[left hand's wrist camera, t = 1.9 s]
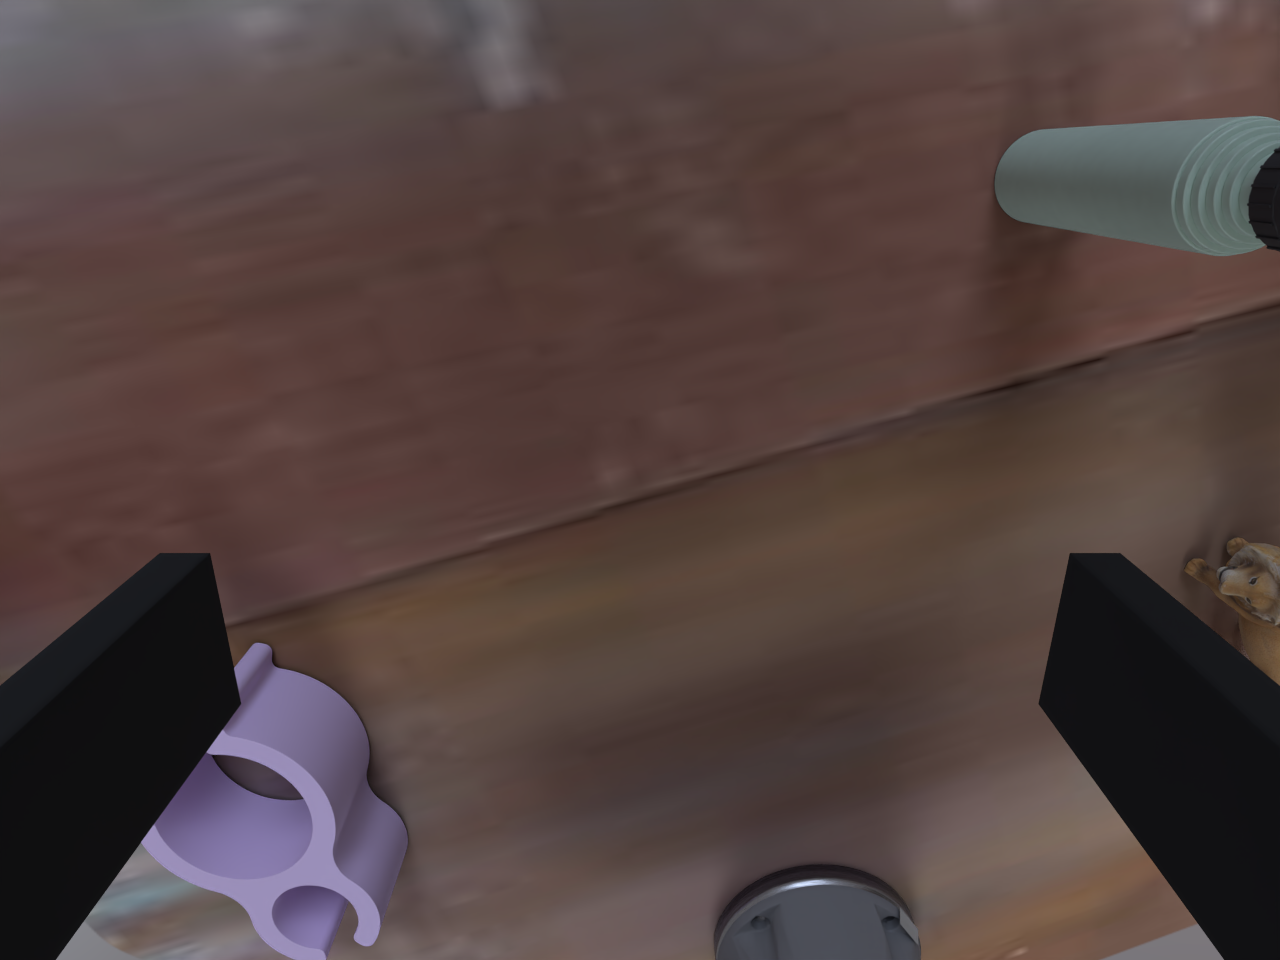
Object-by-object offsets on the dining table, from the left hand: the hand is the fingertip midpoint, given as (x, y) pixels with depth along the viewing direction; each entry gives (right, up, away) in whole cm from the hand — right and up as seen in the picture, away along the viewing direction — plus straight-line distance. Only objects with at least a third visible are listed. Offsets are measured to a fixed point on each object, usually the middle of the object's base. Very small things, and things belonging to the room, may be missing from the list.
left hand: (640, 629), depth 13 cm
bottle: (+21, +18, +31) cm, 42 cm away
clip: (-24, -18, +45) cm, 54 cm away
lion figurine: (+36, -5, +40) cm, 54 cm away
